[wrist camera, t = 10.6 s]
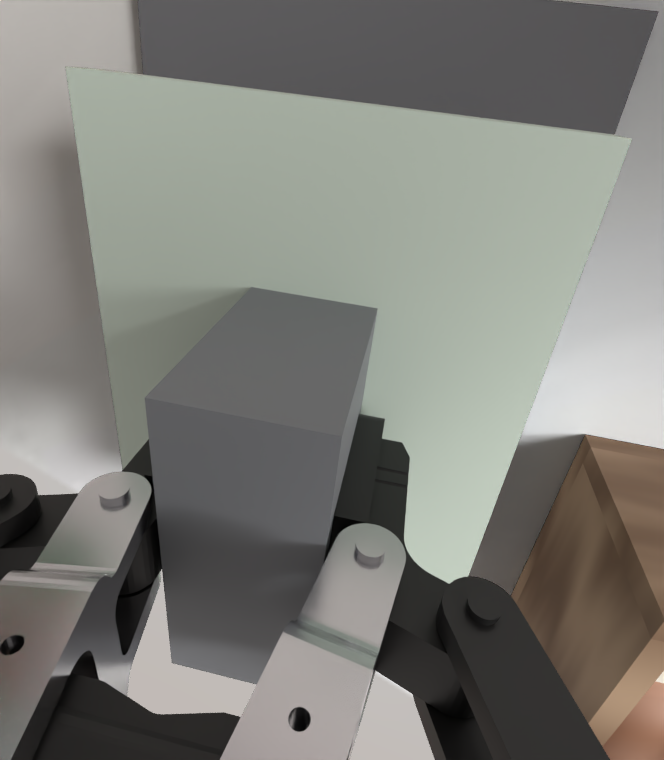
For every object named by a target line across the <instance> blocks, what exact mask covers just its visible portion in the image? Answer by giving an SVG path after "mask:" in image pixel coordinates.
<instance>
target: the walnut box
mask: <svg viewBox="0 0 664 760" xmlns="http://www.w3.org/2000/svg"><path fill="white" fill-rule="evenodd" d="M511 597H512V598H513V600H514V601H515V603H516V604H517V606H518V607H519V609H520V611H521V612H522V614H523V616H524V617H525V619H526V621H527V622H528V624H529V626H530V627H531V629H532V631H533V632H534V634H535V636H536V637H537V639H538V641H539V642H540V644H541V645H542V647H543V649H544V650H545V652H546V654H547V655H548V657H549V659H550V660H551V662H552V664H553V665H554V667H555V669H556V670H557V672H558V674H559V675H560V677H561V679H562V680H563V682H564V684H565V685H566V687H567V689H568V690H569V692H570V694H571V695H572V697H573V699H574V700H575V702H576V704H577V705H578V707H579V709H580V710H581V712H582V714H583V715H584V717H585V719H586V720H587V722H588V724H589V725H590V727H591V729H592V730H593V732H594V734H595V735H596V737H597V739H598V740H599V742H600V744H601V745H602V747H603V749H604V750H605V752H606V754H607V755H608V757H609V759H610V760H664V449H658V448H653V447H648V446H643V445H637V444H632V443H627V442H622V441H616V440H611V439H606V438H601V437H595V436H590V435H585V436H584V439H583V441H582V443H581V445H580V447H579V449H578V452H577V454H576V456H575V458H574V460H573V462H572V465H571V467H570V469H569V471H568V473H567V475H566V478H565V480H564V482H563V484H562V486H561V488H560V491H559V493H558V495H557V497H556V499H555V501H554V504H553V506H552V508H551V510H550V512H549V514H548V517H547V519H546V521H545V523H544V525H543V527H542V530H541V532H540V534H539V536H538V538H537V540H536V543H535V545H534V547H533V549H532V551H531V553H530V556H529V558H528V560H527V562H526V564H525V566H524V569H523V571H522V573H521V575H520V577H519V579H518V582H517V584H516V586H515V588H514V590H513V592H512V595H511Z"/></svg>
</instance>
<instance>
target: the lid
mask: <svg viewBox="0 0 664 760" xmlns="http://www.w3.org/2000/svg"><path fill="white" fill-rule="evenodd" d="M65 68H66V75H67V82H68V89H69V96H70V103H71V110H72V117H73V124H74V131H75V138H76V145H77V152H78V159H79V166H80V173H81V180H82V187H83V195H84V202H85V209H86V216H87V223H88V230H89V237H90V244H91V251H92V258H93V265H94V272H95V279H96V286H97V293H98V300H99V307H100V314H101V321H102V328H103V335H104V342H105V349H106V356H107V363H108V370H109V377H110V384H111V391H112V398H113V405H114V412H115V419H116V426H117V434H118V441H119V448H120V455H121V462H122V469H124V468H125V467H126V466H127V464H128V463H129V462H130V461H131V460H132V458H133V457H134V456H135V455H136V454H137V452H138V451H139V450H140V449H141V448H142V446H143V445H144V444H145V443H146V442H147V440H148V439H149V446H150V455H151V465H152V475H153V484H154V494H155V504H156V514H157V523H158V533H159V543H160V552H161V562H162V572H163V582H164V591H165V601H166V611H167V620H168V630H169V639H170V650H171V659H172V663H175V664H178V665H182V666H186V667H190V668H194V669H198V670H202V671H206V672H210V673H214V674H218V675H221V676H226V677H229V678H233V679H237V680H241V681H245V682H249V683H253V684H257V683H258V681H259V679H260V677H261V675H262V673H263V671H264V669H265V667H266V665H267V663H268V661H269V659H270V657H271V655H272V653H273V651H274V649H275V647H276V645H277V643H278V641H279V639H280V637H281V635H282V633H283V631H284V629H285V627H286V626H287V624H288V623H289V622H290V621H291V620H293V621H296V620H297V618H298V617H299V615H300V613H301V611H302V609H303V607H304V604H305V602H306V600H307V598H308V596H309V594H310V592H311V590H312V588H313V586H314V584H315V581H316V579H317V577H318V575H319V573H320V571H321V569H322V567H323V565H324V563H325V560H326V558H327V556H328V551H329V544H330V538H331V531H332V524H333V518H334V513H335V509H336V505H337V501H338V497H339V492H340V488H341V484H342V480H343V476H344V472H345V468H346V464H347V460H348V456H349V452H350V448H351V444H352V440H353V436H354V432H355V427H356V423H357V419H358V415H359V414H363V415H369V416H374V417H379V418H384V419H385V422H384V428H383V434H382V439H387V440H392V441H397V442H402V443H403V445H404V447H405V449H406V451H407V453H408V455H409V457H410V463H409V474H408V487H407V502H406V515H405V528H404V542H405V546H406V549H407V551H408V553H409V554H410V556H411V557H412V559H413V560H414V561H415V562H416V563H417V564H418V565H419V566H420V567H421V568H422V569H424V570H425V571H427V572H428V573H430V574H432V575H433V576H435V577H437V578H439V579H441V580H443V581H445V582H447V583H449V584H450V583H451V582H452V581H454V580H456V579H458V578H462V577H468V576H469V573H470V570H471V568H472V565H473V562H474V560H475V557H476V554H477V552H478V549H479V546H480V544H481V541H482V538H483V536H484V533H485V530H486V528H487V525H488V522H489V520H490V517H491V514H492V512H493V509H494V506H495V504H496V501H497V498H498V496H499V493H500V490H501V488H502V485H503V482H504V480H505V477H506V474H507V472H508V469H509V466H510V464H511V461H512V458H513V456H514V453H515V450H516V448H517V445H518V442H519V440H520V437H521V434H522V432H523V429H524V426H525V424H526V421H527V418H528V416H529V413H530V410H531V408H532V405H533V402H534V400H535V397H536V394H537V392H538V389H539V386H540V384H541V381H542V378H543V376H544V373H545V370H546V368H547V365H548V362H549V360H550V357H551V354H552V352H553V349H554V346H555V344H556V341H557V338H558V336H559V333H560V330H561V328H562V325H563V322H564V320H565V317H566V314H567V312H568V309H569V306H570V304H571V301H572V298H573V296H574V293H575V290H576V288H577V285H578V282H579V280H580V277H581V274H582V272H583V269H584V266H585V264H586V261H587V258H588V256H589V253H590V250H591V248H592V245H593V242H594V240H595V237H596V234H597V232H598V229H599V226H600V224H601V221H602V218H603V216H604V213H605V210H606V208H607V205H608V202H609V200H610V197H611V194H612V192H613V189H614V186H615V184H616V181H617V178H618V176H619V173H620V170H621V168H622V165H623V162H624V160H625V157H626V154H627V152H628V149H629V146H630V144H631V141H632V139H630V138H626V137H622V136H617V135H613V134H606V133H598V132H590V131H582V130H574V129H566V128H559V127H551V126H543V125H535V124H527V123H519V122H511V121H504V120H496V119H488V118H480V117H472V116H464V115H456V114H449V113H441V112H433V111H425V110H417V109H409V108H402V107H394V106H386V105H378V104H370V103H362V102H354V101H347V100H339V99H331V98H323V97H315V96H307V95H299V94H292V93H284V92H276V91H268V90H260V89H252V88H244V87H237V86H229V85H221V84H213V83H205V82H197V81H189V80H182V79H174V78H166V77H158V76H150V75H142V74H134V73H127V72H119V71H111V70H103V69H92V68H79V67H65Z"/></svg>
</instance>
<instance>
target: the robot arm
mask: <svg viewBox="0 0 664 760" xmlns="http://www.w3.org/2000/svg"><path fill="white" fill-rule="evenodd" d="M384 422H385V419H384V418H379V417H374V416H369V415H363V414H359V415H358V419H357V423H356V427H355V432H354V436H353V440H352V444H351V448H350V452H349V456H348V460H347V464H346V468H345V472H344V476H343V480H342V484H341V488H340V492H339V497H338V501H337V505H336V509H335V513H334V518H333V524H332V531H331V538H330V544H329V551H328V556H327V558H326V560H325V563H324V565H323V567H322V569H321V571H320V573H319V575H318V577H317V579H316V581H315V584H314V586H313V588H312V590H311V592H310V594H309V596H308V598H307V600H306V602H305V604H304V607H303V609H302V611H301V613H300V615H299V617H298V618H297V620H296V621H293V620H291V621H290V622H289V623H288V624H287V626H286V627H285V629H284V631H283V633H282V635H281V637H280V639H279V641H278V643H277V645H276V647H275V649H274V651H273V653H272V655H271V657H270V659H269V661H268V663H267V665H266V667H265V669H264V671H263V673H262V675H261V677H260V679H259V681H258V683H257V685H256V687H255V689H254V691H253V693H252V695H251V698H250V699H249V702H248V703H247V705H246V707H245V709H244V712H243V714H242V716H241V717H239V716H235V715H231V714H227V713H197V714H165V715H161V714H155V713H152V712H150V711H148V710H147V709H145V708H144V707H142V706H141V705H139V704H138V703H136V702H135V701H133V700H132V699H130V698H129V697H127V693H128V683H129V675H130V670H131V666H132V662H133V660H134V657H135V654H136V651H137V648H138V645H139V642H140V640H141V637H142V634H143V631H144V628H145V626H146V623H147V620H148V617H149V614H150V611H151V609H152V605H153V603H154V600H155V597H156V594H157V591H158V589H159V586H160V582H161V581H160V580H161V575H160V571H161V569H162V562H161V552H160V543H159V533H158V523H157V514H156V504H155V494H154V484H153V475H152V465H151V455H150V446H149V439H148V440H147V442H146V443H145V444H144V445H143V446H142V448H141V449H140V450H139V451H138V452H137V454H136V455H135V456H134V457H133V458H132V460H131V461H130V462H129V463H128V464H127V466H126V467H125V468H124V469H123V470H122V472H113V473H109V474H105V475H102V476H100V477H97V478H95V479H94V480H92V481H90V482H89V483H88V484H86V485H85V486H84V487H83V488H82V490H81V491H80V492H79V493H78V494H61V495H38V493H37V488H36V485H35V483H34V482H33V481H32V480H31V479H29V478H28V477H25V476H22V475H17V474H4V475H0V760H350V757H351V753H352V750H353V746H354V743H355V739H356V736H357V732H358V729H359V726H360V722H361V719H362V715H363V712H364V709H365V705H366V702H367V698H368V695H369V692H370V688H371V685H372V681H373V678H374V675H375V671H377V672H379V673H381V674H382V675H384V676H385V677H387V678H388V679H390V680H392V681H393V682H395V683H396V684H398V685H399V686H401V687H403V688H404V689H406V690H407V691H409V692H411V693H412V694H413V697H414V701H415V704H416V707H417V710H418V712H419V715H420V718H421V721H422V724H423V727H424V730H425V733H426V736H427V738H428V741H429V744H430V747H431V750H432V753H433V755H434V758H435V760H610V759H609V757H608V755H607V754H606V752H605V750H604V749H603V747H602V745H601V744H600V742H599V740H598V739H597V737H596V735H595V734H594V732H593V730H592V729H591V727H590V725H589V724H588V722H587V720H586V719H585V717H584V715H583V714H582V712H581V710H580V709H579V707H578V705H577V704H576V702H575V700H574V699H573V697H572V695H571V694H570V692H569V690H568V689H567V687H566V685H565V684H564V682H563V680H562V679H561V677H560V675H559V674H558V672H557V670H556V669H555V667H554V665H553V664H552V662H551V660H550V659H549V657H548V655H547V654H546V652H545V650H544V649H543V647H542V645H541V644H540V642H539V641H538V639H537V637H536V636H535V634H534V632H533V631H532V629H531V627H530V626H529V624H528V622H527V621H526V619H525V617H524V616H523V614H522V612H521V611H520V609H519V607H518V606H517V604H516V603H515V601H514V600H513V598H512V597H511V596H510V595H509V594H508V593H507V592H506V591H505V590H503V589H502V588H501V587H499V586H498V585H496V584H494V583H492V582H490V581H488V580H485V579H482V578H478V577H462V578H458V579H456V580H454V581H452V582H451V583H450V584H449V583H447V582H445V581H443V580H441V579H439V578H437V577H435V576H433V575H432V574H430V573H428V572H427V571H425V570H424V569H422V568H421V567H420V566H419V565H418V564H417V563H416V562H415V561H414V560H413V559H412V557H411V556H410V554H409V553H408V551H407V549H406V546H405V542H404V528H405V515H406V502H407V487H408V474H409V463H410V457H409V455H408V453H407V451H406V449H405V447H404V445H403V443H402V442H397V441H392V440H387V439H382V434H383V428H384Z"/></svg>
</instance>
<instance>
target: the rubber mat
mask: <svg viewBox="0 0 664 760" xmlns="http://www.w3.org/2000/svg"><path fill="white" fill-rule="evenodd" d="M138 11H139V24H140V38H141V51H142V65H143V75H150V76H158V77H166V78H174V79H182V80H189V81H197V82H205V83H213V84H221V85H229V86H237V87H244V88H252V89H260V90H268V91H276V92H284V93H292V94H299V95H307V96H315V97H323V98H331V99H339V100H347V101H354V102H362V103H370V104H378V105H386V106H394V107H402V108H409V109H417V110H425V111H433V112H441V113H449V114H456V115H464V116H472V117H480V118H488V119H496V120H504V121H511V122H519V123H527V124H535V125H543V126H551V127H559V128H566V129H574V130H582V131H590V132H598V133H606V134H613V135H614V134H615V131H616V129H617V126H618V123H619V120H620V118H621V115H622V112H623V109H624V106H625V104H626V101H627V98H628V95H629V93H630V90H631V87H632V84H633V81H634V79H635V76H636V73H637V70H638V67H639V65H640V62H641V59H642V56H643V54H644V51H645V48H646V45H647V42H648V40H649V37H650V34H651V31H652V29H653V26H654V23H655V20H656V17H657V15H658V12H659V11H649V10H640V9H630V8H620V7H611V6H601V5H592V4H582V3H572V2H563V1H553V0H138Z"/></svg>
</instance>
